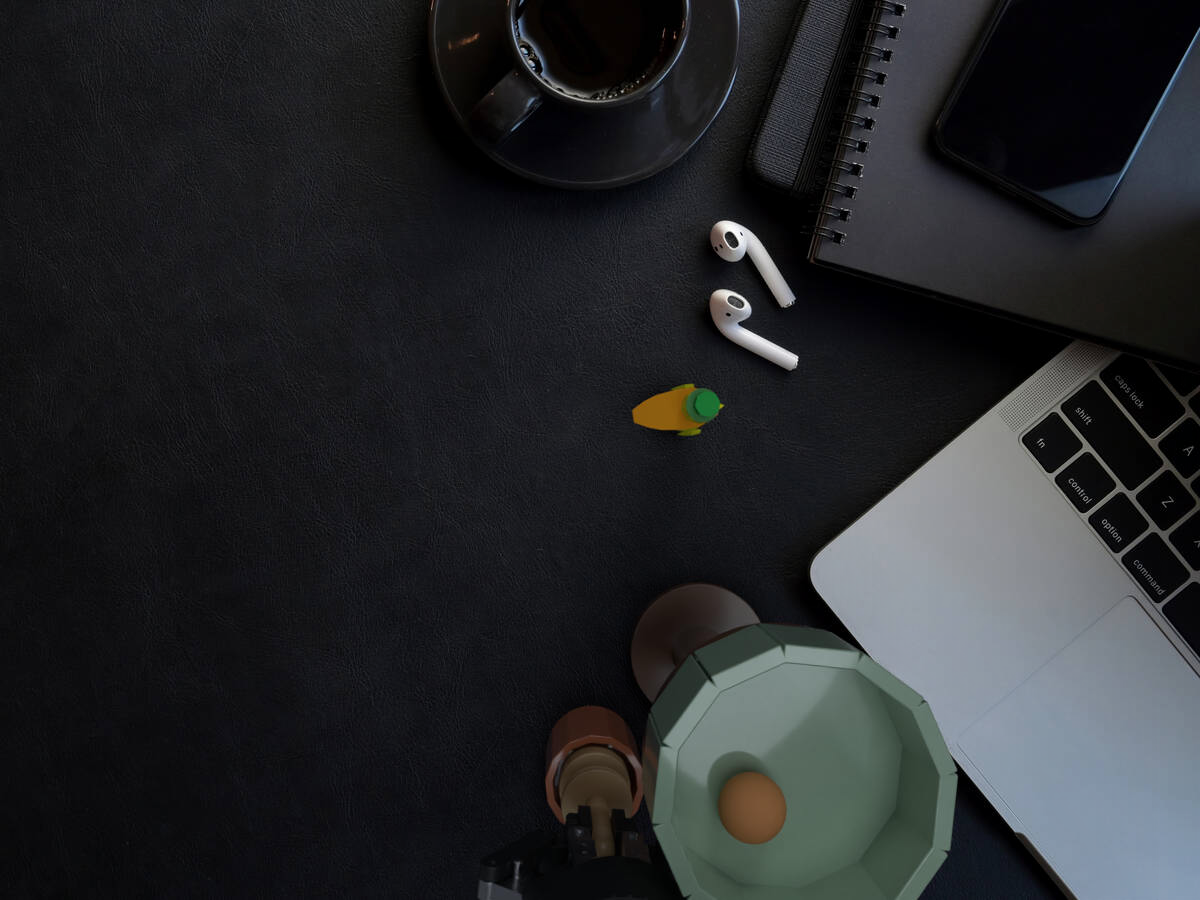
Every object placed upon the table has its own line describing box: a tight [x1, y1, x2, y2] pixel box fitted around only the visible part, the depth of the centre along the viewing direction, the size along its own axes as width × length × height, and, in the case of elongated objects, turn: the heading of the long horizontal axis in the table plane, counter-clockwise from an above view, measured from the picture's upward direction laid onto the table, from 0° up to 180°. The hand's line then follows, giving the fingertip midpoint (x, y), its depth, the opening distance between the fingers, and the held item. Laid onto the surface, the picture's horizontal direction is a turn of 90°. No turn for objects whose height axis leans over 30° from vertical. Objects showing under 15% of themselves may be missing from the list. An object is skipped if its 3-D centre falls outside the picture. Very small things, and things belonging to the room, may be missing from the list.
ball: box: [718, 772, 787, 844], centre depth 41 cm, size 3×3×3 cm
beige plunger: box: [559, 744, 633, 857], centre depth 56 cm, size 5×5×12 cm
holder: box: [544, 705, 644, 825], centre depth 64 cm, size 6×6×8 cm
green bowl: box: [641, 622, 959, 900], centre depth 41 cm, size 13×13×5 cm
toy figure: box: [632, 383, 725, 437], centre depth 63 cm, size 7×4×12 cm, turn 98°
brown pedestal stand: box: [629, 581, 815, 766], centre depth 56 cm, size 13×13×25 cm
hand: (599, 823), depth 54 cm, fingers closed on beige plunger, 1 cm apart
